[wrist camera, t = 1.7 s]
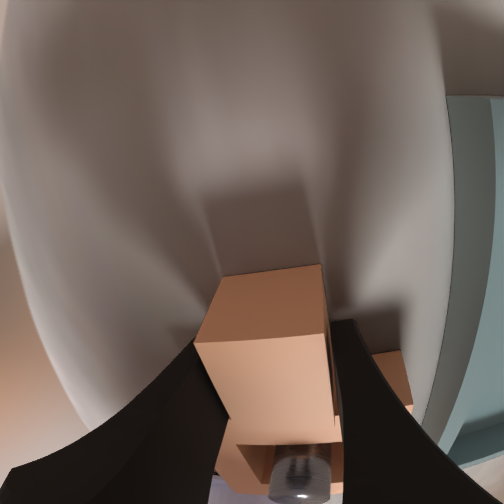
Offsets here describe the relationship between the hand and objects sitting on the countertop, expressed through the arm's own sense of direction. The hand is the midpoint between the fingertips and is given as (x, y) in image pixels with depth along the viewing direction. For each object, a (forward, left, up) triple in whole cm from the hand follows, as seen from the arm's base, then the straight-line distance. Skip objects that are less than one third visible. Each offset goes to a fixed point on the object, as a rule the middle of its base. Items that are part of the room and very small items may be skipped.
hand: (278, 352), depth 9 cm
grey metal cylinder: (-6, 0, -1) cm, 6 cm away
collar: (-4, 0, -1) cm, 4 cm away
